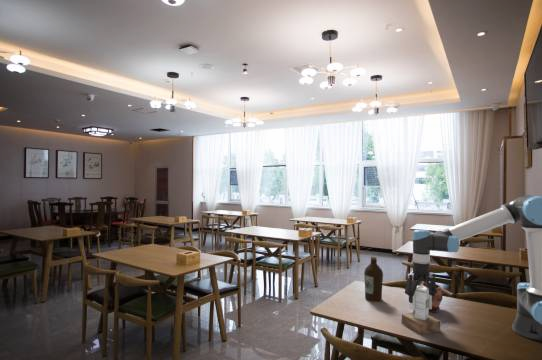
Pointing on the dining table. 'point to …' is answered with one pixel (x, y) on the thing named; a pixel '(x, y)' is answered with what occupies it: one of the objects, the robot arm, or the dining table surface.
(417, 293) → the syrup box
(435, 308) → the decorative planter
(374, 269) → the olive oil
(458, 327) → the dining table surface
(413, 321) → the walnut block
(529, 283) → the robot arm
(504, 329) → the dining table surface
